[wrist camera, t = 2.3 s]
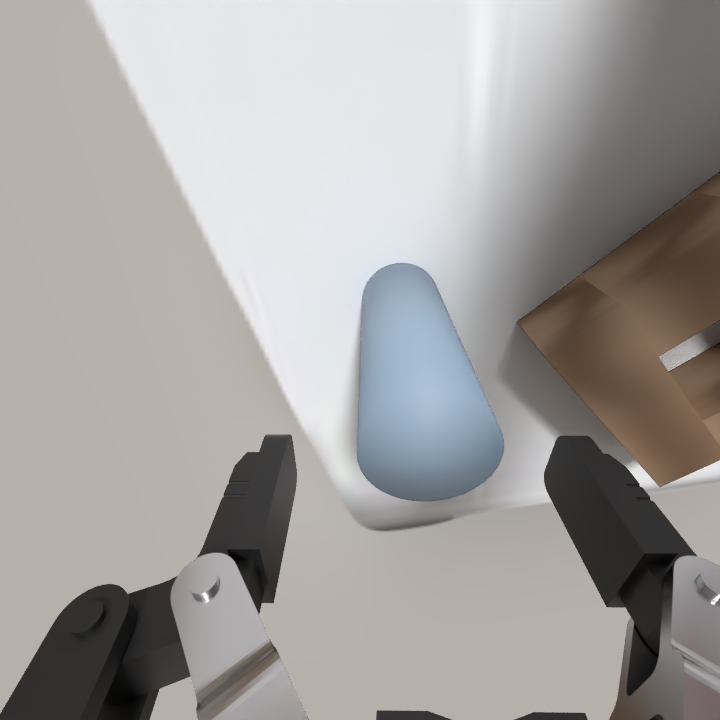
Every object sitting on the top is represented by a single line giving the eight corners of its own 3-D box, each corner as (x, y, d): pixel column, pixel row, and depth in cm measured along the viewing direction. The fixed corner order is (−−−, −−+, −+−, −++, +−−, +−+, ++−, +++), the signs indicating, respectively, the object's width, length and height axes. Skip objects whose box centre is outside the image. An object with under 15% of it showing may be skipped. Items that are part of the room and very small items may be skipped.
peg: (402, 246, 20) (440, 369, 9) (453, 300, 21) (532, 455, 11) (346, 300, 21) (327, 454, 11) (397, 346, 23) (421, 518, 13)
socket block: (787, 122, 16) (897, 119, 13) (856, 320, 21) (948, 356, 18) (516, 322, 22) (544, 356, 18) (623, 442, 27) (659, 487, 23)
